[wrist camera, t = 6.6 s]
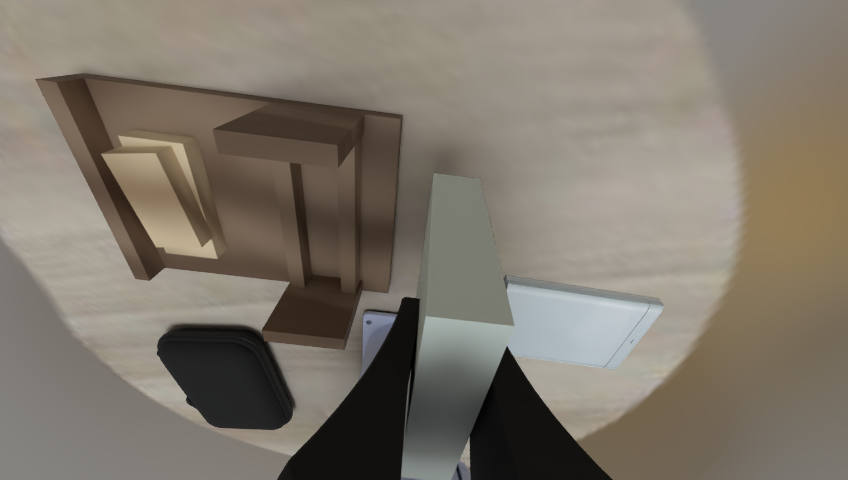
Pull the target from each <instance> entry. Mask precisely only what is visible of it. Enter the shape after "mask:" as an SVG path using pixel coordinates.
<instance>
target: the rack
mask: <svg viewBox="0 0 848 480" xmlns="http://www.w3.org/2000/svg"><path fill="white" fill-rule="evenodd" d="M35 80H36V82H37V84H38V86H39V88H40V90H41V92H42V94H43V96H44V98H45V100H46V102H47V104H48V106H49V108H50V109H51V111H52V113H53V115H54V117H55V119H56V121H57V123H58V125H59V127H60V129H61V131H62V133H63V135H64V137H65V139H66V141H67V143H68V145H69V147H70V149H71V151H72V153H73V155H74V157H75V159H76V161H77V163H78V165H79V167H80V169H81V171H82V173H83V175H84V177H85V179H86V181H87V183H88V185H89V187H90V189H91V191H92V193H93V195H94V197H95V199H96V201H97V203H98V205H99V207H100V209H101V211H102V213H103V215H104V217H105V219H106V221H107V223H108V225H109V227H110V229H111V231H112V233H113V235H114V237H115V239H116V241H117V243H118V245H119V247H120V249H121V251H122V253H123V255H124V257H125V259H126V261H127V263H128V265H129V267H130V269H131V271H132V273H133V275H134V277H135V279H140V280H149V281H150V280H151V279H152V278H153V277H154V276H156V275H157V274H158V273H159V272H160V271H161V270H163V269H164V268H173V269H181V270H190V271H199V272H208V273H216V274H225V275H234V276H242V277H251V278H260V279H269V280H277V281H286V282H290V283H289V285H288V287H287V288H286V290H285V292H284V294H283V295H282V297H281V299H280V300H279V302H278V304H277V305H276V307H275V309H274V310H273V312H272V314H271V316H270V317H269V319H268V321H267V322H266V324H265V326H264V327H263V329H262V334H263V338H264V341H268V342H277V343H286V344H295V345H304V346H313V347H322V348H332V349H341V350H345V347H346V343H347V340H348V337H349V333H350V330H351V326H352V323H353V320H354V316H355V313H356V310H357V306H358V303H359V300H360V296H361V293H362V290H365V291H373V292H382V293H388V291H389V286H390V275H391V262H392V248H393V235H394V221H395V208H396V194H397V181H398V167H399V154H400V140H401V127H402V115H398V114H390V113H382V112H375V111H367V110H359V109H352V108H344V107H336V106H329V105H321V104H313V103H306V102H298V101H290V100H283V99H275V98H267V97H260V96H252V95H244V94H236V93H229V92H221V91H213V90H206V89H198V88H190V87H183V86H175V85H167V84H160V83H152V82H144V81H137V80H129V79H121V78H114V77H106V76H98V75H91V74H83V73H82V74H74V75H66V76H58V77H50V78H42V79H35ZM133 130H141V131H148V132H156V133H164V134H172V135H180V136H188V137H196V138H197V141H198V145H199V148H200V152H201V156H202V159H203V163H204V166H205V170H206V174H207V177H208V181H209V185H210V188H211V192H212V195H213V199H214V203H215V206H216V210H217V214H218V217H219V221H220V224H221V228H222V232H223V235H224V239H225V243H226V246H227V250H226V251H225V252H224V253H223V254H222V255H221V256H220V257H219V258H218V259H213V258H204V257H196V256H187V255H179V254H170V253H166V252H165V249H164V247H156V246H155V245H154V243H153V241H152V240H151V238H150V236H149V235H148V233H147V231H146V229H145V228H144V226H143V224H142V223H141V221H140V219H139V218H138V216H137V214H136V212H135V211H134V209H133V207H132V206H131V204H130V202H129V201H128V199H127V197H126V196H125V194H124V192H123V190H122V189H121V187H120V185H119V184H118V182H117V180H116V179H115V177H114V175H113V173H112V172H111V170H110V168H109V167H108V165H107V163H106V162H105V160H104V158H103V156H102V155H101V154H102V153H104V152H107V151H110V150H113V149H115V148H118V147H122V144H121V142H120V139H119V137H118V135H121V134H124V133H127V132H130V131H133Z"/></svg>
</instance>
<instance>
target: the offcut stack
mask: <svg viewBox="0 0 848 480" xmlns="http://www.w3.org/2000/svg"><path fill="white" fill-rule="evenodd" d="M118 137H119V139H120V142H121V144H122V147H118V148H115V149H113V150H110V151H107V152H104V153H102V154H101V155H102V156H103V158H104V160H105V162H106V163H107V165H108V167H109V168H110V170H111V172H112V173H113V175H114V177H115V179H116V180H117V182H118V184H119V185H120V187H121V189H122V190H123V192H124V194H125V196H126V197H127V199H128V201H129V202H130V204H131V206H132V207H133V209H134V211H135V212H136V214H137V216H138V218H139V219H140V221H141V223H142V224H143V226H144V228H145V229H146V231H147V233H148V235H149V236H150V238H151V240H152V241H153V243H154V245H155V246H156V247H164V249H165V252H166V253H170V254H179V255H187V256H196V257H204V258H213V259H218V258H219V257H220V256H221V255H222V254H223V253H224V252H225V251H226V250H227V246H226V243H225V239H224V235H223V232H222V228H221V224H220V221H219V217H218V214H217V210H216V206H215V203H214V199H213V195H212V192H211V188H210V185H209V181H208V177H207V174H206V170H205V166H204V163H203V159H202V156H201V152H200V148H199V145H198V141H197V138H196V137H188V136H180V135H172V134H164V133H156V132H148V131H141V130H133V131H130V132H127V133H124V134H121V135H118Z"/></svg>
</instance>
